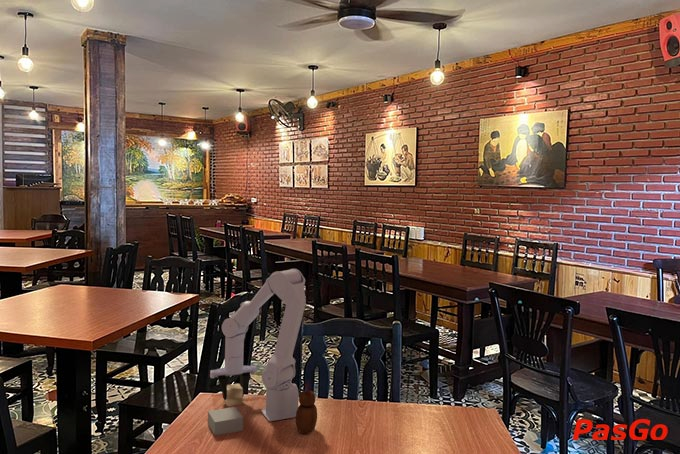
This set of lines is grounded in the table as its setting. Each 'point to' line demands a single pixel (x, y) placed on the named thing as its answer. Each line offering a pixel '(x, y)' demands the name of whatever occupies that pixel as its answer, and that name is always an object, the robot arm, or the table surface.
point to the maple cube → (234, 395)
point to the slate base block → (225, 421)
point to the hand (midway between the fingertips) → (233, 397)
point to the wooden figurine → (306, 411)
